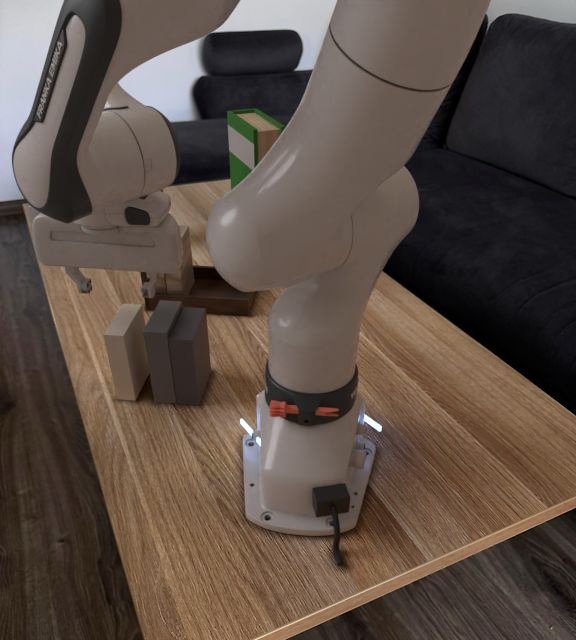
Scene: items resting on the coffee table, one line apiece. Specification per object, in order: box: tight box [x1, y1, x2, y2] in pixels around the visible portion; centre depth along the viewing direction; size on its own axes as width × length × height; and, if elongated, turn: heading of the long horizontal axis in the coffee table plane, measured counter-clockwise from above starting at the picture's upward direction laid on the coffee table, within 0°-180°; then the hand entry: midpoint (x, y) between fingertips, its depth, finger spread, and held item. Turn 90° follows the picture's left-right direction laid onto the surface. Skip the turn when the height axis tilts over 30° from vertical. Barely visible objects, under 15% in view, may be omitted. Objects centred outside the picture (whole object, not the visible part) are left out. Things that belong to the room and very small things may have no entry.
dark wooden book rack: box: [139, 224, 257, 317], centre depth 114 cm, size 20×13×13 cm, turn 84°
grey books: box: [143, 300, 212, 406], centre depth 91 cm, size 7×9×13 cm
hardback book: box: [226, 107, 286, 191], centre depth 142 cm, size 18×7×24 cm, turn 23°
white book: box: [102, 303, 150, 402], centre depth 92 cm, size 3×9×12 cm, turn 174°
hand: (117, 293), depth 86 cm, fingers open, 8 cm apart
